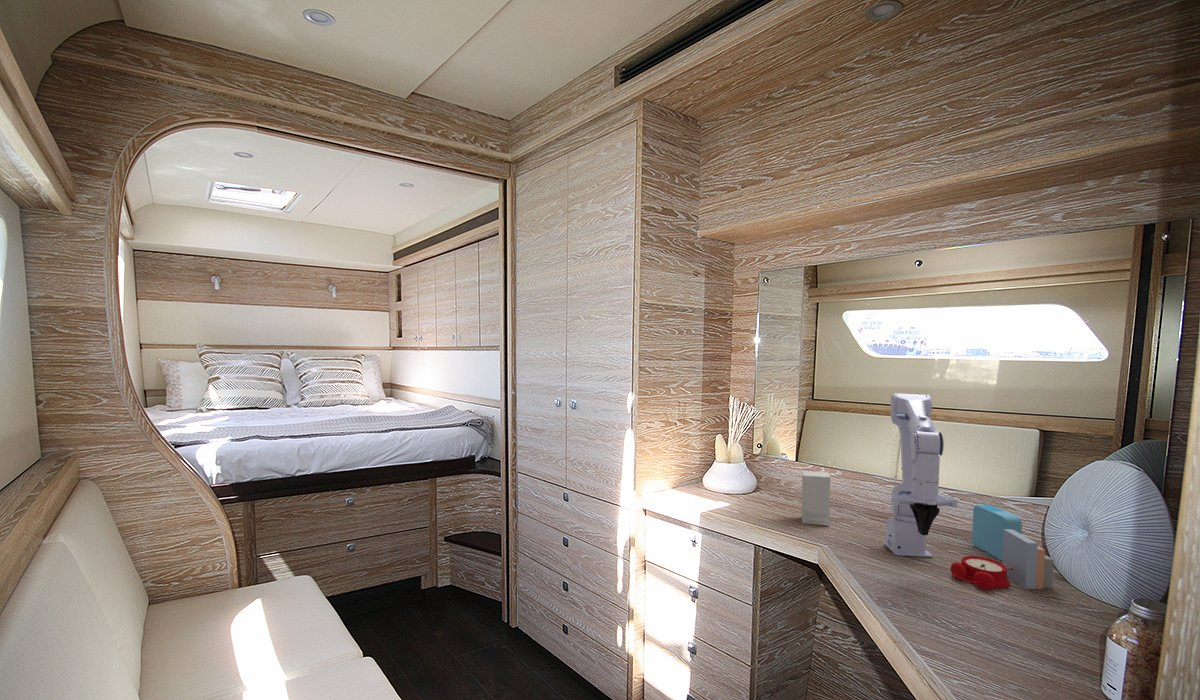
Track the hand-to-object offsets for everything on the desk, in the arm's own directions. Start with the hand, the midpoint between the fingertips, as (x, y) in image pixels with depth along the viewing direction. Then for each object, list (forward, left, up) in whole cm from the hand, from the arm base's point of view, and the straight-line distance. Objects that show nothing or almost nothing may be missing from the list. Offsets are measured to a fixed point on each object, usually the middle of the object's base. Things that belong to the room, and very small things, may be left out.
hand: (923, 533), depth 136 cm
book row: (+24, 0, -10) cm, 27 cm away
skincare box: (-16, +35, -10) cm, 40 cm away
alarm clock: (+13, -1, -11) cm, 17 cm away
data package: (+27, +17, -11) cm, 34 cm away
